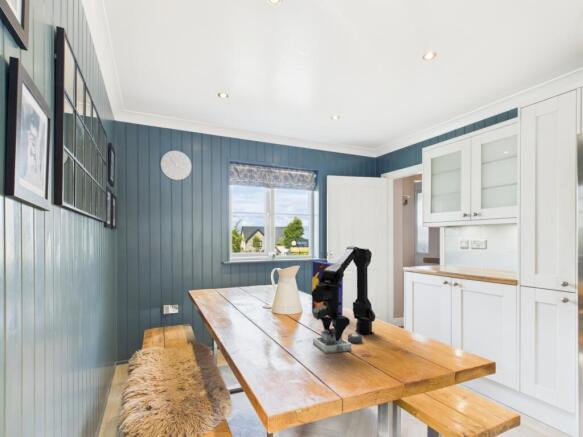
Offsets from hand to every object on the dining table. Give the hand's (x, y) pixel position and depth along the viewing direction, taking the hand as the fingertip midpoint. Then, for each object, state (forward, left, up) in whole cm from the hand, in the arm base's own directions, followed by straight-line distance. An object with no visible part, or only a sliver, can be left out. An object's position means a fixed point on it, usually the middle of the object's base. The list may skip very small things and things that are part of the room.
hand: (331, 337), depth 133 cm
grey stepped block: (0, 0, -3) cm, 3 cm away
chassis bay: (0, 0, -4) cm, 4 cm away
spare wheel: (-13, -3, -4) cm, 14 cm away
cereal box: (-21, -45, -4) cm, 50 cm away
